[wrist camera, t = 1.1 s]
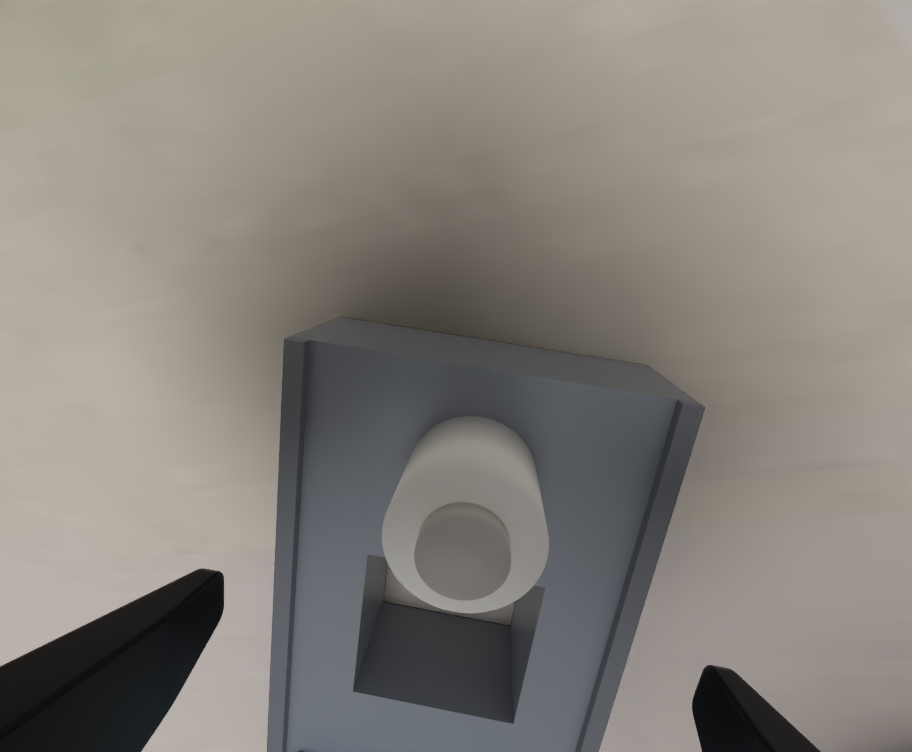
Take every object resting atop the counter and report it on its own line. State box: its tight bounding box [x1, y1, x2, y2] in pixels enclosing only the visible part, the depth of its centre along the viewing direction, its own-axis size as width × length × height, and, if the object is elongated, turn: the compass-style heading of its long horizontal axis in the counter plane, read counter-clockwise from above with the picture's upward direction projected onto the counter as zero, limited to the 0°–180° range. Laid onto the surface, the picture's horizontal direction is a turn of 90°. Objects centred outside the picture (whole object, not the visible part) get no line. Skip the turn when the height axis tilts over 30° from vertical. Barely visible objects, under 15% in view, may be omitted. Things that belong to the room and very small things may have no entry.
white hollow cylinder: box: [382, 416, 549, 613], centre depth 12 cm, size 4×4×4 cm
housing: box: [267, 317, 705, 752], centre depth 18 cm, size 12×24×5 cm, turn 172°
